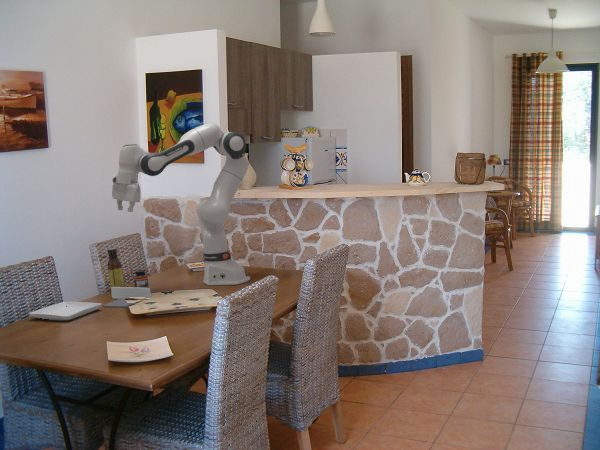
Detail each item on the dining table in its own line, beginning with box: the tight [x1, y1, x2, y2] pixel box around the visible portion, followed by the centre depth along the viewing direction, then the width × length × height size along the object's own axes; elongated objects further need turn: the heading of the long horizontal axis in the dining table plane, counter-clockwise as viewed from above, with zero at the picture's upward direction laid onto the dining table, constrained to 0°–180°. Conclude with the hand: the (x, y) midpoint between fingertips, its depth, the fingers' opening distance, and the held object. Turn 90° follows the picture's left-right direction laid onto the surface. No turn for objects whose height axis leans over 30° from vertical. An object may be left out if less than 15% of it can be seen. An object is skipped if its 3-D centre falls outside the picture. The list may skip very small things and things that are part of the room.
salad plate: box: [28, 301, 103, 322], centre depth 299 cm, size 21×21×3 cm
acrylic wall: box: [110, 286, 152, 300], centre depth 321 cm, size 20×1×5 cm, turn 66°
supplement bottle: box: [133, 269, 150, 288], centre depth 326 cm, size 6×6×11 cm
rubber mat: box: [101, 299, 134, 309], centre depth 312 cm, size 12×12×1 cm
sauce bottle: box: [107, 247, 125, 288], centre depth 341 cm, size 6×6×20 cm
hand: (125, 211), depth 325 cm, fingers open, 8 cm apart
